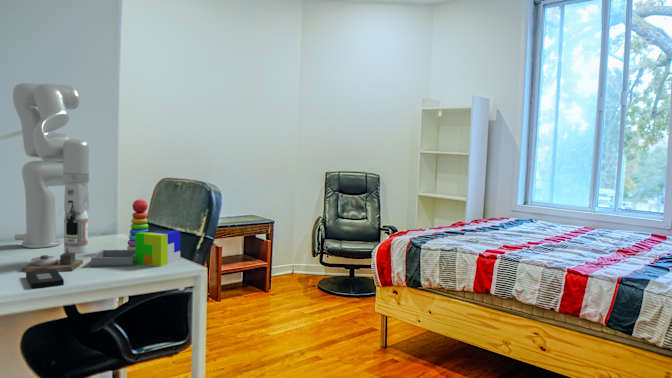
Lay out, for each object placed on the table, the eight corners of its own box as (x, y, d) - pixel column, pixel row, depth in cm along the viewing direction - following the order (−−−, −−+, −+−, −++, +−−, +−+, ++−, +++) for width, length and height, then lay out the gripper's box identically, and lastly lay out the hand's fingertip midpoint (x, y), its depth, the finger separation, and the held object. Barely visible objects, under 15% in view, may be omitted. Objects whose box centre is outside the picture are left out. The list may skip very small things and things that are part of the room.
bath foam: (86, 254, 165) (86, 193, 163) (62, 255, 162) (62, 193, 160) (88, 249, 171) (89, 191, 169) (65, 250, 169) (65, 190, 167)
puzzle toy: (180, 260, 171) (180, 231, 170) (160, 266, 161) (160, 235, 161) (155, 257, 174) (155, 228, 173) (135, 263, 165) (135, 233, 164)
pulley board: (21, 271, 150) (21, 251, 150) (35, 264, 160) (35, 244, 159) (72, 271, 152) (71, 250, 152) (82, 263, 162) (82, 244, 162)
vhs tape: (55, 275, 149) (55, 268, 149) (63, 287, 137) (63, 279, 137) (26, 278, 144) (26, 271, 144) (31, 290, 133) (31, 283, 133)
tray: (91, 266, 158) (91, 257, 158) (102, 258, 170) (102, 250, 170) (132, 266, 161) (132, 257, 160) (140, 257, 173) (140, 249, 172)
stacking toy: (142, 253, 180) (142, 201, 179) (122, 251, 182) (122, 200, 180) (154, 249, 188) (154, 199, 186) (135, 247, 189) (135, 198, 188)
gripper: (79, 181, 156) (79, 237, 158) (96, 176, 173) (96, 227, 175) (53, 180, 155) (53, 237, 157) (72, 175, 172) (72, 227, 174)
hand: (76, 231), depth 166 cm, fingers closed on bath foam, 7 cm apart
